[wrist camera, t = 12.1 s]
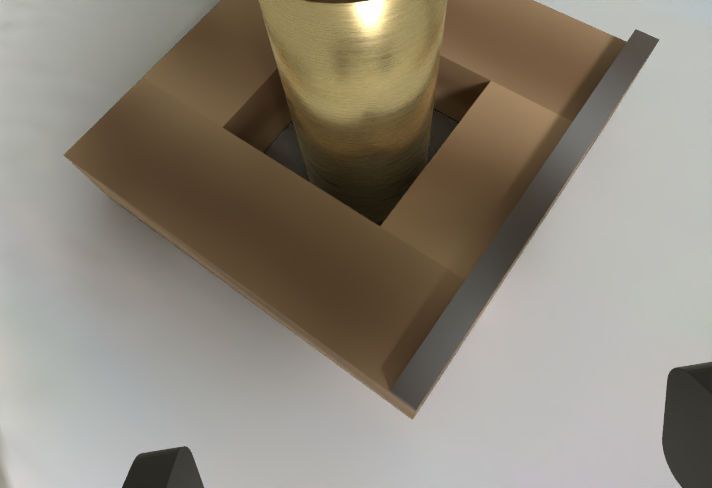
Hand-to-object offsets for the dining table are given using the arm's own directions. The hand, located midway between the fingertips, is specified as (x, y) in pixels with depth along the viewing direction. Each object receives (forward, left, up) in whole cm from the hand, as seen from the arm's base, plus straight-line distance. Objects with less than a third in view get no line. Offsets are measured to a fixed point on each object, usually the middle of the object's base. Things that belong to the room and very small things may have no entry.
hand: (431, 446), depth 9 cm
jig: (-8, -8, -8) cm, 13 cm away
